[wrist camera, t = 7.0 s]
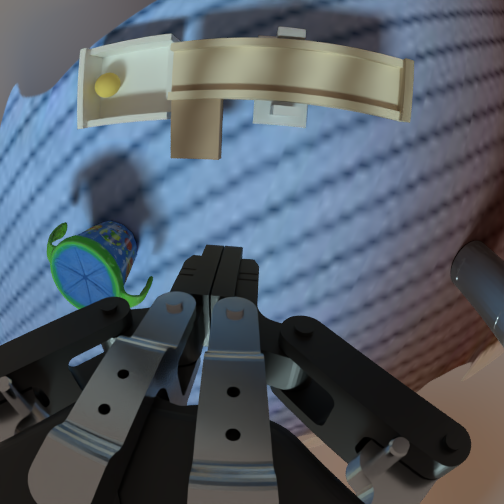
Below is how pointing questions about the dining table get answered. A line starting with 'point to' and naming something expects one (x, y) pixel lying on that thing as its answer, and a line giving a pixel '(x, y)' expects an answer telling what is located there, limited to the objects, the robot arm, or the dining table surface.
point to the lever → (277, 84)
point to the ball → (107, 85)
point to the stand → (274, 109)
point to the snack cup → (94, 264)
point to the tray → (127, 81)
